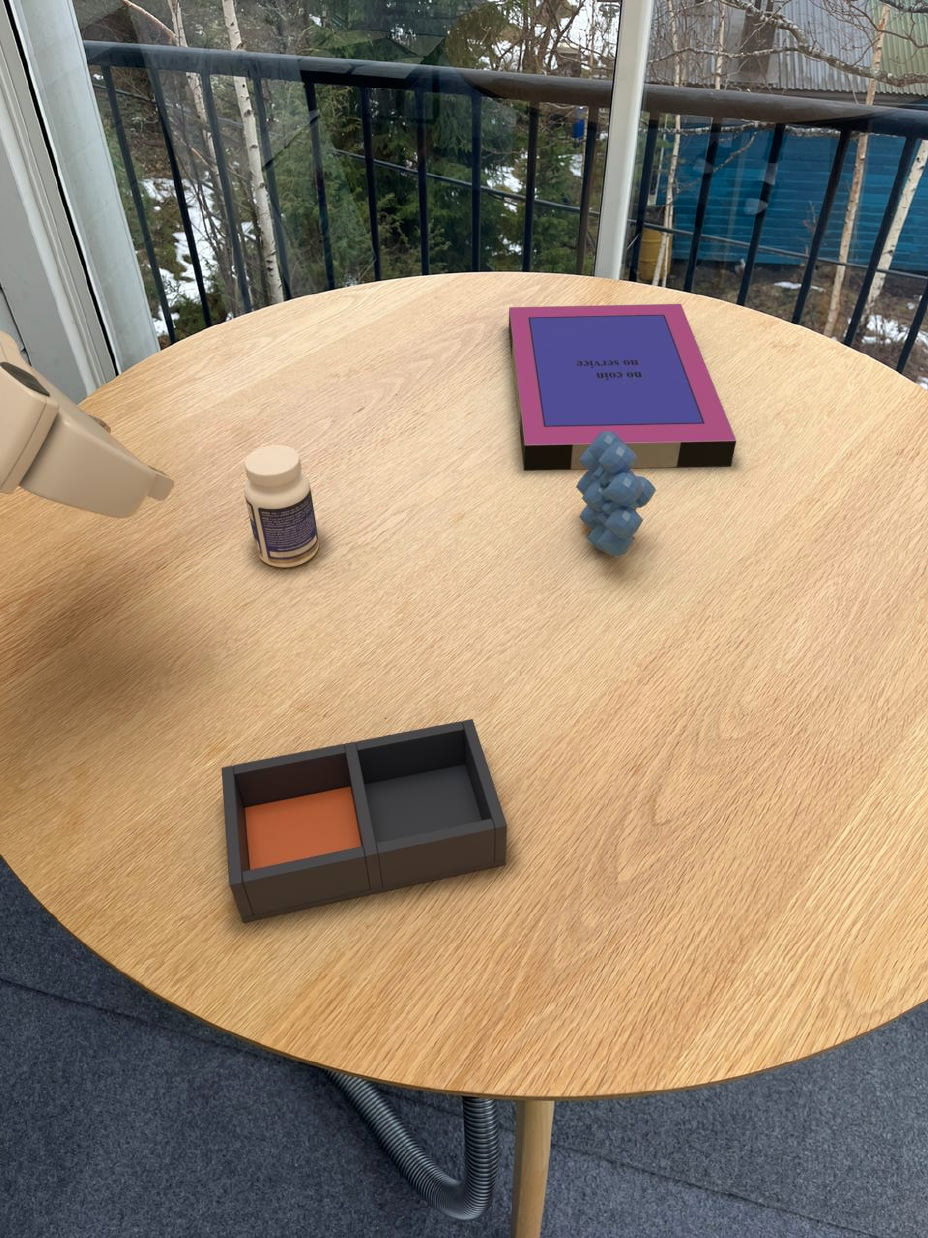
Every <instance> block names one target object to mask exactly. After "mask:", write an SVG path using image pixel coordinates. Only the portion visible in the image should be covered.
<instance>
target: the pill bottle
mask: <svg viewBox="0 0 928 1238" xmlns="http://www.w3.org/2000/svg"><path fill="white" fill-rule="evenodd" d="M300 457H301V456H300V454H299V452H298V451H297V450H296V449H294V448H293V447H290V446H287V445H283V444H272V445H266V446H262V447H259V448H257V449H255V450H253V451H251V452H250V453H249V454H247V456H246V458H245V460H244V469H245V476H246V478H247V480H246V482H245V485H244V488H243V489H244V490H243V491H244V499H245V504H246V507H247V508H246V509H247V513H248V518H249V522H250V527H251V531H252V535H253V541H254V545H255V549H256V553H257V555H258V557H259V558H260V560H262V561H263V562H264V563H265V564H267V565H269V566H273V567H276V568H291V567H296V566H299V565H302V564H304V563H306V562H308V561H309V560H311V559H312V558H313V557H314V556H315V554H316V553H317V552H318V549H319V545H320V540H319V533H318V532H319V531H318V526H317V520H316V514H315V508H314V507H315V506H314V501H313V495H312V488H311V483H310V480H309V478H308V476H307V475H306V473H304V472H303V471H302V461H301V458H300Z"/></svg>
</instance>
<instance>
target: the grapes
mask: <svg viewBox="0 0 928 1238" xmlns="http://www.w3.org/2000/svg"><path fill="white" fill-rule="evenodd" d="M636 459H637V456H636V455H635V453H634V452H633V451H632V450H631V449H630V447H628V446H627V445H625V444H624V443H623V441H622V440H621V439H620V438H619V436H617V435H616V434H615V433H613V432H610V431H603V432H602V433H600V434H598V435H597V437H596V438H595V439H594V441H593V442H592V443H591V445H590V446H589V447H588V448H587V449H586V451H585V452H584V453H583V455H582V456H581V458H580V460H579V461H580V462H581V463H582V464H583V466H584V467H585V468H586V469H585V470H587V471H585V472H584V474H583V475H582V477H581V478H580V479H579V481H578V482H577V484H576V486H575V488H576V489H577V490H578V491H579V492H580V493H581V494H582V497H581V499H582V501H583V502H584V503H585V504H586V506H585V507H584V508H583V509H582V512H581V513H580V514H579V517H578V518H579V520H581V521H582V522H583V523H584V525H585V526H586V527H588V528H589V529H590V530H591V531H590V533H589V535H588V536H587V541H588V542H589V544H591V545H592V546H593V547H594V549H596V550H597V551H598V552H601V553H605V554H608V555H609V556H611V557H617V558H618V557H621V556H623V555H625V554H626V552H627V551H628V550H630V548H631V546H632V544H633V542H634V541H635V539H636V538H635V537H634V535H635V534H637V531H639V529H640V527H641V525H642V524H643V522H644V519H643V517H641V515H640V514H639V513H638V512H637V509H638V508H639V509H641V508H643V507H645V506H647V505H648V503H649V502H650V501H651V499H652V498H653V496H654V495H655V493H656V491H657V489H656V487H655V486H654V485H653V484H652V483H651V481H650V480H649V479H647V478H646V477H644V476H640V475H636V474H635V472H633V471H632V470H631V469H632V468H631V467H632V466H633V464H634V463H635V461H636Z"/></svg>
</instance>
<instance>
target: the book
mask: <svg viewBox="0 0 928 1238" xmlns="http://www.w3.org/2000/svg"><path fill="white" fill-rule="evenodd" d="M508 334H509V335H508V337H509V347H510V356H511V365H512V373H513V374H512V375H513V383H514V393H515V401H516V409H517V410H516V411H517V420H518V428H519V429H518V430H519V438H520V448H521V457H522V467H523V471H562V470H563V471H564V470H567V471H568V470H587V469H586V468H585V467H584V466H583V464H582V463H581V462H580V461H579V460H580V458H581V456H582V455H583V453H584V452H585V451H586V449H587V448H588V447H589V446H590V445H591V443H592V442H593V441H594V439H595V438H596V437H597V435H598V434H600V433H602V432H603V431H610V432H613V433H615V434H616V435H617V436H619V438H620V439H621V440H622V441H623V443H624V444H625V445H627V446H628V447H630V449H631V450H632V451H633V452H634V453H635V455H636V456H637V459H636V461H635V463H634V464H633V466H632V467H631V468H630V469H653V468H654V469H660V468H663V469H664V468H701V467H702V468H703V467H704V468H705V467H706V468H708V467H711V468H712V467H732V463H733V459H734V454H735V449H736V446H737V445H736V444H737V438H736V436H735V433H734V431H733V428H732V427H731V423H730V421H729V419H728V416H727V414H726V412H725V408H724V406H723V404H722V402H721V399H720V397H719V395H718V392H717V389H716V387H715V384H714V382H713V379H712V377H711V374H710V372H709V369H708V366H707V365H706V362H705V360H704V356H703V355H702V352H701V350H700V347H699V345H698V343H697V339H696V337H695V335H694V332H693V330H692V328H691V325H690V323H689V320H688V318H687V315H686V313H685V311H684V307H683V305H682V303H655V304H654V303H651V304H650V303H648V304H603V305H599V304H598V305H597V304H596V305H559V306H558V305H557V306H555V305H553V306H552V305H549V306H548V305H547V306H510V307H508Z"/></svg>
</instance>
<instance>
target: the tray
mask: <svg viewBox="0 0 928 1238" xmlns="http://www.w3.org/2000/svg"><path fill="white" fill-rule="evenodd" d="M492 777H493V776H492V774H491V771H490V768H489V765H488V762H487V759H486V756H485V753H484V749H483V747H482V743H481V739H480V736H479V734H478V731H477V728H476V724H475V722H474V719H473V718H470V719H469V718H468V719H463V720H459V721H454V722H448V723H444V724H439V725H434V726H429V727H423V728H419V729H413V730H408V731H402V732H398V733H397V732H396V733H393V734H388V735H383V736H377V737H371V738H367V739H366V738H365V739H362V740H356V741H350V742H345V743H340V744H335V745H330V746H325V747H319V748H313V749H309V750H303V751H299V752H294V753H288V754H283V755H278V756H273V757H268V758H264V759H257V760H252V761H247V762H242V763H236V764H233V765H228V766H223V767H221V783H222V784H221V785H222V796H223V797H222V798H223V810H224V811H223V813H224V825H225V826H224V827H225V840H226V841H225V842H226V843H225V844H226V854H227V855H226V857H227V869H228V870H227V872H228V885H229V888H230V890H231V894H232V897H233V899H234V902H235V904H236V908H237V911H238V913H239V916H240V920H241V922H242V923H248V922H252V921H253V922H254V921H257V920H261V919H265V918H271V917H275V916H279V915H284V914H287V913H288V914H289V913H294V912H298V911H303V910H307V909H311V908H316V907H321V906H324V905H329V904H334V903H338V902H342V901H347V900H351V899H357V898H361V897H366V896H369V895H374V894H379V893H384V892H388V891H392V890H397V889H401V888H406V887H411V886H414V885H420V884H424V883H428V882H434V881H437V880H438V881H439V880H442V879H446V878H452V877H456V876H460V875H461V876H462V875H464V874H470V873H474V872H478V871H484V870H487V869H491V868H496V867H502V866H506V865H507V839H508V824H507V821H506V818H505V815H504V812H503V809H502V805H501V802H500V799H499V796H498V793H497V790H496V787H495V784H494V781H493V778H492Z"/></svg>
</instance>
